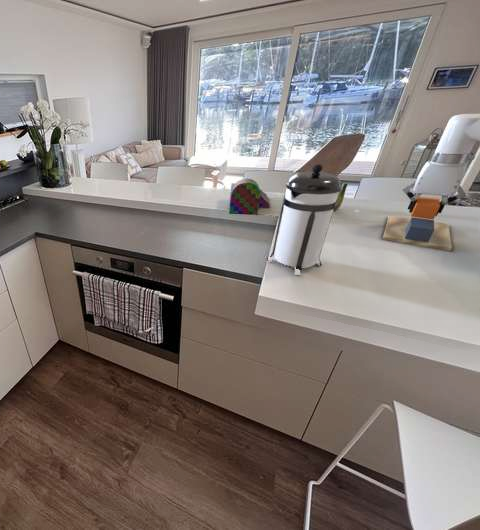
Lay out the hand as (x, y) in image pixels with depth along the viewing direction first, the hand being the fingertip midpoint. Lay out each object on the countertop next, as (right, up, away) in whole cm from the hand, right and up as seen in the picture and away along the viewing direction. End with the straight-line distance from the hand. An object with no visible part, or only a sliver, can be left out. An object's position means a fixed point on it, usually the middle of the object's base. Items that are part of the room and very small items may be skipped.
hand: (422, 212), depth 99 cm
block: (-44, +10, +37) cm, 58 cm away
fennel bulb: (-14, +6, +24) cm, 29 cm away
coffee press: (-50, -17, -9) cm, 54 cm away
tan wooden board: (-2, -7, +1) cm, 7 cm away
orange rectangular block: (0, 0, 0) cm, 0 cm away
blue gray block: (-6, -9, -3) cm, 11 cm away
